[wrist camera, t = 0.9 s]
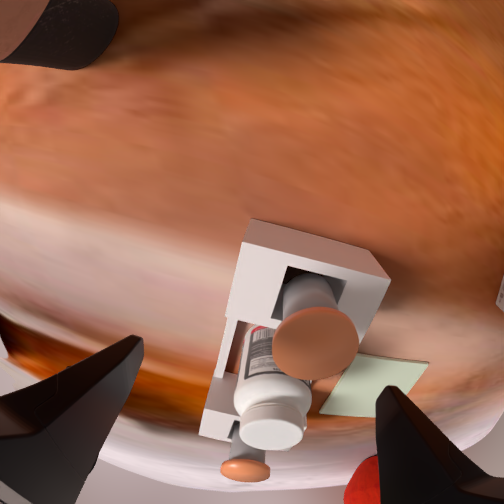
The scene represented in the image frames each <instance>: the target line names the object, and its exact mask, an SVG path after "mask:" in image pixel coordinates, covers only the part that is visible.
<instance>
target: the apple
mask: <svg viewBox="0 0 504 504" xmlns="http://www.w3.org/2000/svg"><path fill="white" fill-rule="evenodd" d="M344 504H380V483H379V468H378V456H373V457H370V458H368V459H366V460H365V461H363V462H362V463H361V464H360V465H359V467H358V468H357V469H356V471H355V472H354V474H353V476H352V478H351V479H350V481H349V483H348V485H347V487H346V490H345V493H344Z"/></svg>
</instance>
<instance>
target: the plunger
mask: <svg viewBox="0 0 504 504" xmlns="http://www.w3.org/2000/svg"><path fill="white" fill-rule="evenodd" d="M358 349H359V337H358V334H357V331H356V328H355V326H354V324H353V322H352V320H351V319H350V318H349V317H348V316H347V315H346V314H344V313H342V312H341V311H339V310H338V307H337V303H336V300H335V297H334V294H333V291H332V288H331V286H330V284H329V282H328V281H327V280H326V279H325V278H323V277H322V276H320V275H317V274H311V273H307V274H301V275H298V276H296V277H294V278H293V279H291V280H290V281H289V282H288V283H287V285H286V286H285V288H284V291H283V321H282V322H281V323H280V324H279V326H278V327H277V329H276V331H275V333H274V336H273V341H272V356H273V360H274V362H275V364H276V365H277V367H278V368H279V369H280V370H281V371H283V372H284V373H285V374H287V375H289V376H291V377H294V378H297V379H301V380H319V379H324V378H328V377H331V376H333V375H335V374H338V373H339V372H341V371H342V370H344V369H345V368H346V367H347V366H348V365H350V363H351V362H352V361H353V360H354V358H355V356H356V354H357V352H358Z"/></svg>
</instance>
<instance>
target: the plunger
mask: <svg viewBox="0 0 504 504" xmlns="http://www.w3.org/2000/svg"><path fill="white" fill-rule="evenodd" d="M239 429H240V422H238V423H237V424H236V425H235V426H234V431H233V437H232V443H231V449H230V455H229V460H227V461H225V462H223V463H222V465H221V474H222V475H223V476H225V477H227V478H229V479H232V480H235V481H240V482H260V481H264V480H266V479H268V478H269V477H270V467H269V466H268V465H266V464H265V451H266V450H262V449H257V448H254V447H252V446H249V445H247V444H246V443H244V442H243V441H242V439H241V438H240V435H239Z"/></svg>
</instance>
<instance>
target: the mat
mask: <svg viewBox="0 0 504 504" xmlns="http://www.w3.org/2000/svg"><path fill="white" fill-rule="evenodd" d="M428 365H429V364H428V362H423V361H413V360H404V359H396V358H388V357H380V356H373V355H366V354H360V353H357V354H356V356H355V358H354V360H353V361H352V362H351V363H350V365H348V366H347V368H346V370H345V371H344V373H343V375H342V376H341V378H340V380H339V381H338V383H337V384H336V386H335V388H334V389H333V391H332V392H331V394H330V395H329V397H328V398H327V400H326V401H325V403H324V404H323V406H322V407H321V409H320V410H319V413H320V414H330V415H341V416H356V417H376V413H375V403H376V399H377V398H378V396H379V395H380V393H381V392H382V391H383V389H384V388H385V387H386V386H387V385H394V386H397V387H398V388H399V389H400V390H401V391H402V392H403V393H404V394H405V395H406V394H407V393H408V392H409V391H410V389H411V388H412V387H413V385H414V384H415V383H416V381H417V380H418V379H419V377H420V376H421V375H422V373H423V372H424V370H425V369H426V368H427V366H428Z"/></svg>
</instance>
